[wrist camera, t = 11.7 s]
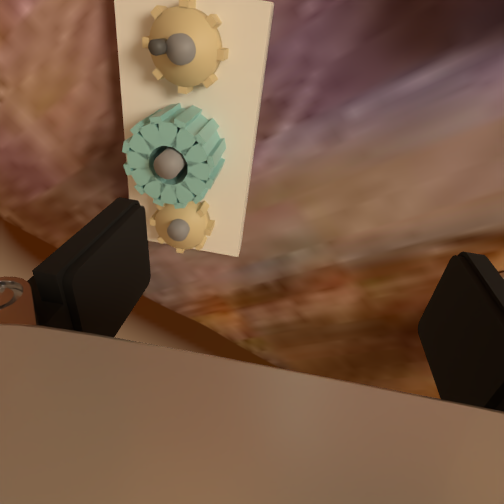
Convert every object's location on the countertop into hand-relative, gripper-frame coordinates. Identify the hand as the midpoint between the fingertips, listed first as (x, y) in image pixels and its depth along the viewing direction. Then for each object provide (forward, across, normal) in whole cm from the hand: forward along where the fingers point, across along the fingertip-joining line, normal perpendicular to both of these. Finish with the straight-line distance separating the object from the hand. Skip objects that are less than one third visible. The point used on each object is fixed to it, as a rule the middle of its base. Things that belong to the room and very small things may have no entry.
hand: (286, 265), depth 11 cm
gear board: (+24, +10, +4) cm, 26 cm away
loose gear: (+22, +10, +4) cm, 25 cm away
